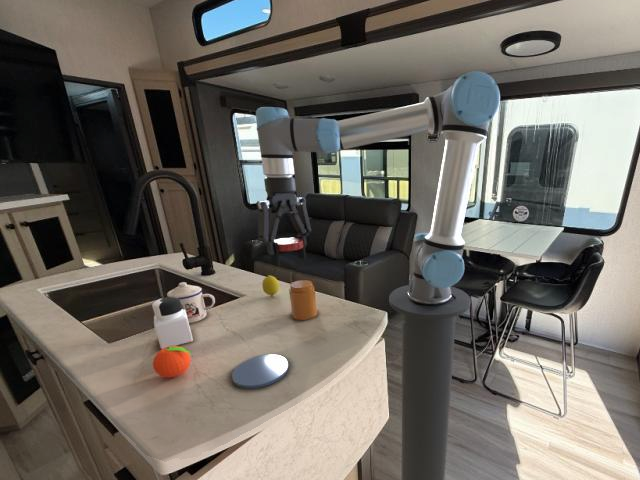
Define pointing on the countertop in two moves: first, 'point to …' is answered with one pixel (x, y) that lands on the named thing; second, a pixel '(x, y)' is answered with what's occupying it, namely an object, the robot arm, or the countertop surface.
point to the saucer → (260, 371)
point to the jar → (303, 300)
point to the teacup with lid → (191, 301)
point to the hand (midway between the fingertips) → (289, 261)
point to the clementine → (171, 361)
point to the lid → (289, 244)
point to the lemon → (270, 285)
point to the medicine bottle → (171, 322)
